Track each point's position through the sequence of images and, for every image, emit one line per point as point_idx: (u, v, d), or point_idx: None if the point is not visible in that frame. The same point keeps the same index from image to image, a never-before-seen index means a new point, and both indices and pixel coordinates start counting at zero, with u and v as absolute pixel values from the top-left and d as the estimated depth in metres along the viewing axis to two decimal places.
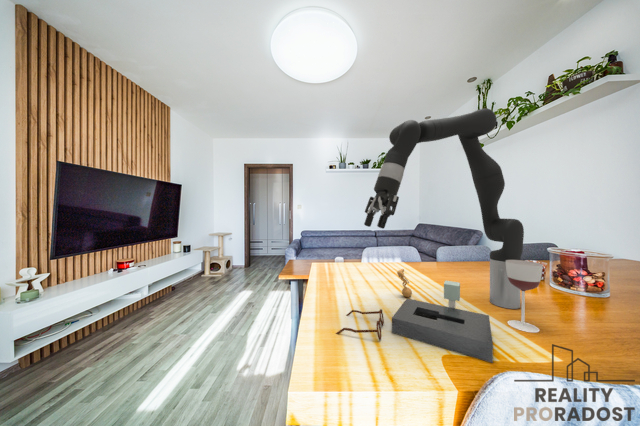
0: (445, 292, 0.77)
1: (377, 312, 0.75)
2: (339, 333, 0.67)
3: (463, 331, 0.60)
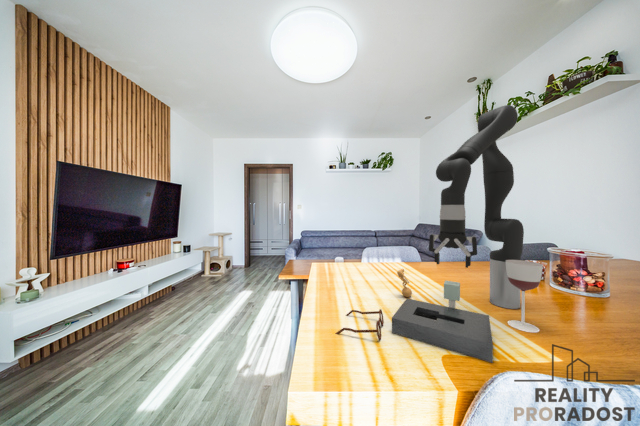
0: (445, 292, 0.77)
1: (377, 312, 0.75)
2: (339, 332, 0.67)
3: (463, 331, 0.60)
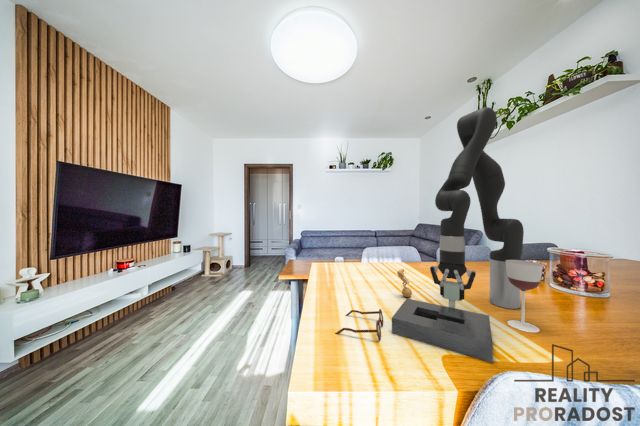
0: (445, 292, 0.77)
1: (377, 312, 0.75)
2: (339, 332, 0.67)
3: (463, 331, 0.60)
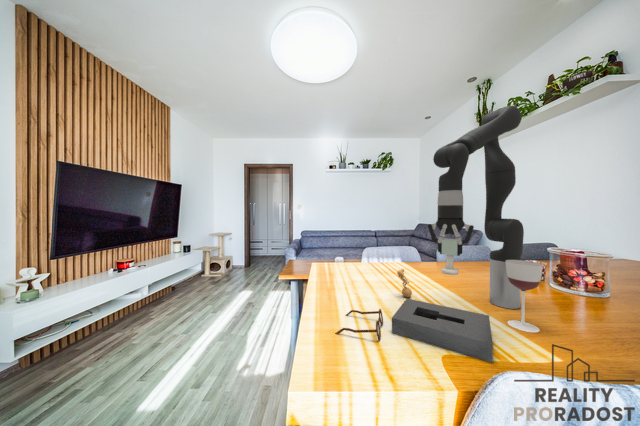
0: (443, 248, 0.76)
1: (376, 312, 0.75)
2: (338, 333, 0.67)
3: (463, 331, 0.60)
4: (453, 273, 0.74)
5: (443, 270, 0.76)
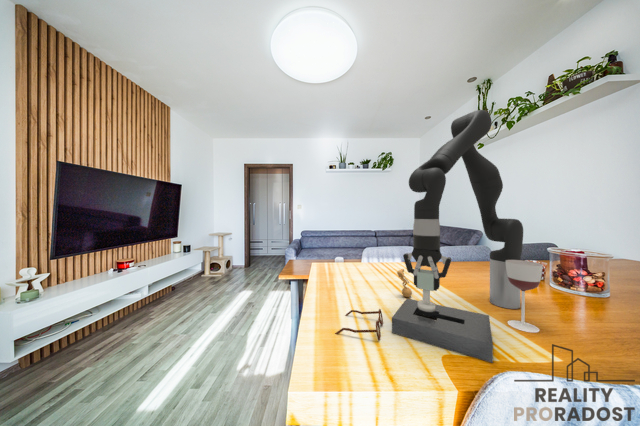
0: (418, 281, 0.69)
1: (376, 312, 0.75)
2: (338, 333, 0.67)
3: (463, 331, 0.60)
4: (429, 310, 0.68)
5: (419, 305, 0.70)
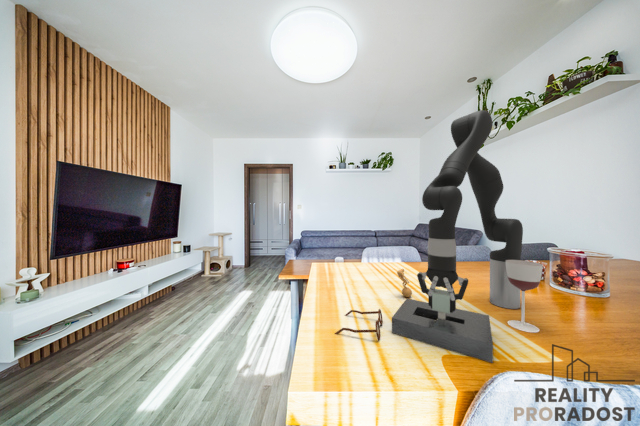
0: (434, 303, 0.67)
1: (376, 312, 0.75)
2: (338, 333, 0.67)
3: (463, 331, 0.60)
4: None
5: None
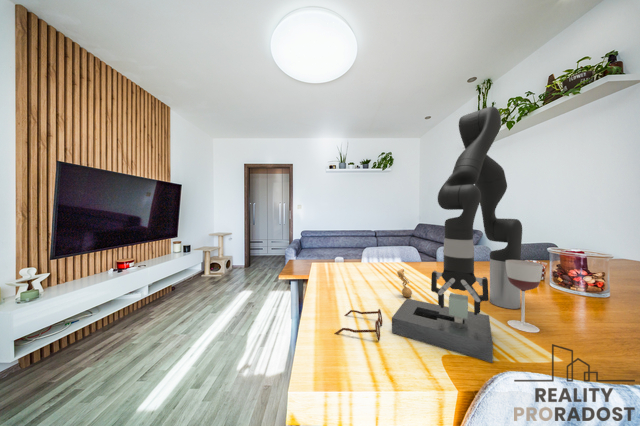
0: (450, 307, 0.65)
1: (376, 312, 0.75)
2: (337, 333, 0.67)
3: (463, 331, 0.60)
4: None
5: None
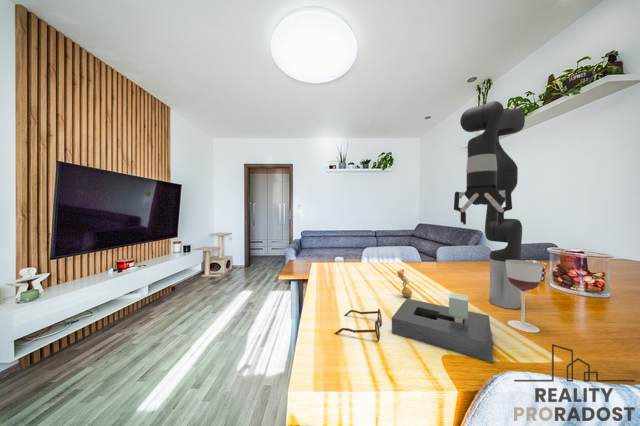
0: (451, 307, 0.65)
1: (375, 312, 0.75)
2: (337, 333, 0.67)
3: (463, 331, 0.60)
4: None
5: None
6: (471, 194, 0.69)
